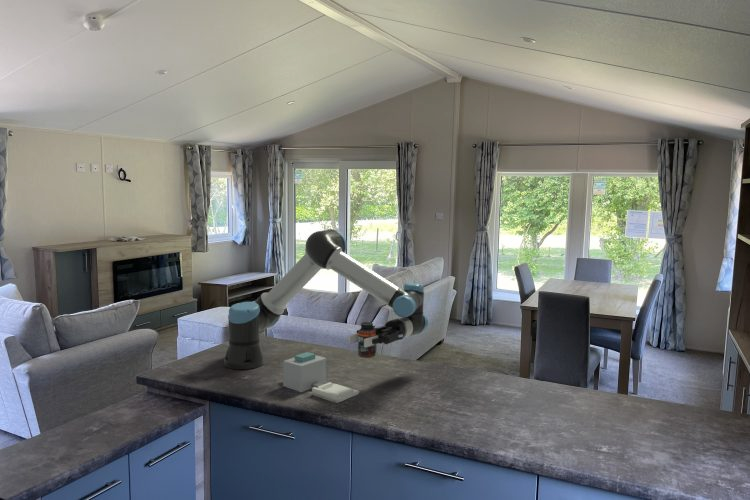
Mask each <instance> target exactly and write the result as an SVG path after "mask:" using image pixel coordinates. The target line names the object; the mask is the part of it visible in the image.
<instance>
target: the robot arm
mask: <svg viewBox="0 0 750 500" xmlns="http://www.w3.org/2000/svg"><path fill="white" fill-rule="evenodd" d="M347 244H348V242H347V239H346V237H345V236H344V234H343V233H342V232H340V231H339V230H336V229H330V228H329V229H325V230H318V231H314V232H313V233H311V234H310V235H309V236H308V237H307V239H306V242H305V249H304V250H305V251H304V255H303V256H302V257H301V258H300V259H299V260H298V261H297V262H296V263H295V264H294V265H293V266H292V268H291V269H289V270H288V272H287V273H286V274H285V275H284V276H283V277H282V278H281V279H280V280H278V282H277V283H276V284H275V285H274V286H273V287H272V288H271V289H270V291H268V292H263V293H261V294H260V295H259V297H257V299H256V300H255V301H242V302H238V303H235V304H232V305H231V306H230V307H229V309H228V314H227V318H228V346H227V349H226V353H225V355H224V359H223V362H224V366H225V367H226V368H228V369H231V370H250V369H255V368H260V367H261V366H263V365H264V364H265V356H264V353H263V350H262V346H261V343H260V338H261V337H260V332H262V331H265V330H266V329H269V328H271V327H273V326H275V325H276V324H277V322H279V319H280V318H281V316H282V315H283V314H284V311H285V306H286V305H287V304H288V303H290V302H291V300H292V299H293V298H294V297H295V296H296V295H297V294H298V293H299V292H300V291H301V290H302V289H303V288H304V287H305V286H306V284H308V283H309V282H310V281H311V280H312V278H314V277H315V275H317V274H318V273H319V272H320V271H321V270H327V271H329V270H332V271H333V272H335V273H337V274H338V275H339V276H342V277H343V278H345V279H346V280H348V281H349V282H351V283H353V284H354V285H355V286H357V287H359V288H360V289H362V290H364V291H365V292H366V293H368V294H369V295H371V296H373V297H374V298H376V299H377V300H379V301H380V302H381V303H384V304H385V305H386V306H388V307H390V308H391V309H392V310H393V312H394V314H395V316H397V317H396V318H394V319H390V320H388V321H387V322H386V323H385V324H384V325H381V326H380V327H376V325H373V329H374V330H375V331H376V336H373V337H369V338H366V339H364V347H365V348H366V347H369V346H372V345H375V344H376V345H377V344H380V345H381V344H384V345H388V344H391V343H394V342H397V341H399V340H404V339H406V338H409V337H410V336H414V335H418V334H420V333H423V332H424V331H426V330H427V328H428V326H429V319H428V317H427V316H426V314H424V301H425V300H424V297H425V290H424V289H425V288H424V284H422V283H421V282H408V283H407V282H406V283H405V284H404V286H403V289H402V288H401V287H398V286H397V285H396V284H394V283H392V282H391V281H389V280H388V279H386V278H385V277H383V276H381V274H378V273H377V272H375V271H374V270H373V269H370V268H369V267H367V266H366V265H364V264H363V263H361V262H360V261H358V260H356V259H355V258H353V257H351V256H350V255H348V254H347V253H346V251H347V249H348V247H347V246H348V245H347ZM359 330H360V329H358V330H356V333H354V334H350V335H348V344H350V345H351V344H354V343H358V331H359Z"/></svg>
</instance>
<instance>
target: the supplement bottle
mask: <svg viewBox="0 0 750 500" xmlns="http://www.w3.org/2000/svg"><path fill="white" fill-rule="evenodd" d="M373 326H374V323H373V322H371V321H364V322H361V323H360V328H359V329H358V330H359V331H358V342H357V343H358V345H357V355H358V357H360V358H364V359H371V358H374V357H375V356H376V353H377V352H376V350H377V349H376V345H377V344H375V345H372V346H369V347H366V348H365V347H364V339H366V338H369V337H373V336H376V331H375V330H374V329H373Z"/></svg>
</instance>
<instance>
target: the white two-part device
mask: <svg viewBox="0 0 750 500" xmlns="http://www.w3.org/2000/svg"><path fill="white" fill-rule="evenodd" d="M282 363H283V365H282V366H283V367H282V368H283V371H282V375H283V377H282V378H283V380H282V381H283V382H282V383H283V384H282V386H283V387H285V388H288V389H291V390H294V391H296V392H300V393H304V392H306V391H309V390H311V395H312V396H314V397H317V398H320V399H323V400H326V401H329V402H331V403H335V404H339V403H341V402H343V401H345V400H348V399H350V398H352V397H355V396H357V395H359V394H360V390H358V389H354V388H351V387H348V386H344V385H341V384H337V383H333V382H331V381H330V382H327V357H324V356H320V355H316V354H315V353H312V352H308V351H306V352H302V353H300V354H296V355H294V357H292V358H288V359H285V360H283V361H282Z"/></svg>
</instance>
